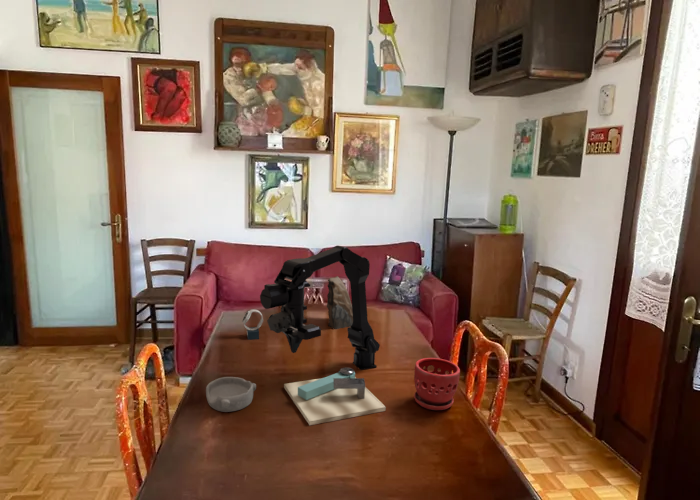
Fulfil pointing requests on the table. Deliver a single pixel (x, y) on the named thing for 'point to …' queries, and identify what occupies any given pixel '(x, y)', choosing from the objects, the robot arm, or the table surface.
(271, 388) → the table surface
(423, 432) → the table surface
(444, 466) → the table surface
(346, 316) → the grey tall stone
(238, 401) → the dish
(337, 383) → the pintle and keeper
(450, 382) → the plant pot
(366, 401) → the base board
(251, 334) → the watch
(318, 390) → the link
